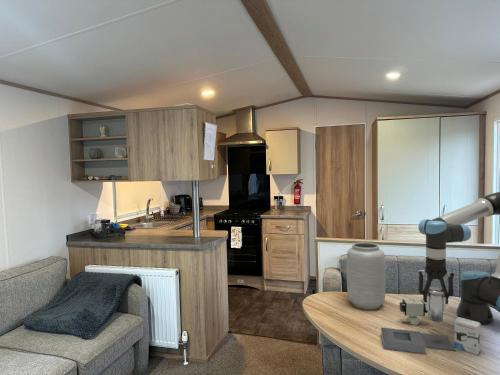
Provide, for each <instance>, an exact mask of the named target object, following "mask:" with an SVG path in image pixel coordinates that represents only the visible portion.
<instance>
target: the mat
mask: <svg viewBox="0 0 500 375" xmlns="http://www.w3.org/2000/svg"><path fill="white" fill-rule="evenodd" d="M420 333H421V335H422V338H423V340H424V342H425V345H426V349H431V350H442V351H449V352H456V348H454V344H453V343H452V341H451V340H450V338H449V335H446V334H445V335H444V334H435V333H427V332H426V333H425V332H420Z"/></svg>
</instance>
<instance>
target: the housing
mask: <svg viewBox="0 0 500 375" xmlns="http://www.w3.org/2000/svg"><path fill="white" fill-rule="evenodd" d="M421 333H422V332H421V331H419V330H410V329H409V330H408V329H399V328H389V327H380V336H381V341H382V346H383V349H384V350H389V351H391V350H392V351H399V352H407V353H414V354H422V355H426V353H427V348H426V345H425V342H424V340H423V338H422V335H421Z"/></svg>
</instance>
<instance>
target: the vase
mask: <svg viewBox="0 0 500 375" xmlns="http://www.w3.org/2000/svg"><path fill="white" fill-rule="evenodd" d="M346 287H347V288H346V289H347V290H346V291H347V292H346V293H347V298H348V300H349V301H350V302H351V303H352V304H353V306H354V307H357V308H358V309H363V310H377V309H378V308H380V307H381V306H382V305H383V304H384V303H385V299H386V256H385V253H384V250H382V249H380V246H379V244H377V243H374V242H373V243H372V242H362V241H361V242H355V243H352V247H350V248H349V249H348V250H347V252H346Z"/></svg>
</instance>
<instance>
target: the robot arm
mask: <svg viewBox="0 0 500 375" xmlns="http://www.w3.org/2000/svg"><path fill="white" fill-rule="evenodd" d="M494 215H495V216H496V215H497V216H500V191H497V192H492V193H489V194H487V195H484V196H481V197H480V198H479V197H478V198H477V199H476V200H474V202H472V203H470V204H468V205H465V206H462V207H460V208H457V209H456V210H452V211H451V212H448V213H446V214H442V215H441V216H437V217H436V218H433V219H429V218H428V219H426V218H424V219H422V220H420V222H419V223H418V231H419V233H420V234H422V235H425V256H426V257H425V267H424V269H418V270H417V273H418V288H417V289H418V292H419V294H421V295H423V296H422V301H423V302H424V303H425V304H426V310H427V311H429V295H428V290H429V288H430V287H431V285H432V283H433V280H439V283H440V286H441V287H440V288H442V289H443V291H445V294H443V313H446V306H447V305H449V298H450V297H454V277H455V273H453V271H448V270H447V259H446V258H447V244H448V243H462V242H466V241H469V239H470V238H471V237H472V231H471V228H470V227H469V226H468V225H466V224H468V223H471V222H473V221H476V220H478V219H480V218H483V217H485V218H487V217H491V216H494ZM495 268H496V269H495V271H494V272H493V273H492V274H490V273H488V272H486V271H481V270H466V271H463V272H461V274H460V302H459V304H458V306H457V308H456V316H457V317H460V318H464V319H468V320H472V321H475V322H479V323H481V325H490V324H493V323H494V315H493V312H492V309H491V306H493V307H496V308H497V309H500V253H499V255H498V259H497V264H496V267H495ZM425 273H426V275H427V279H426V281H425V285H424V276H425ZM445 276H447V283H448V284H447V286H448V290H447V286H446V283H445V280H444V277H445ZM490 305H491V306H490Z"/></svg>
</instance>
